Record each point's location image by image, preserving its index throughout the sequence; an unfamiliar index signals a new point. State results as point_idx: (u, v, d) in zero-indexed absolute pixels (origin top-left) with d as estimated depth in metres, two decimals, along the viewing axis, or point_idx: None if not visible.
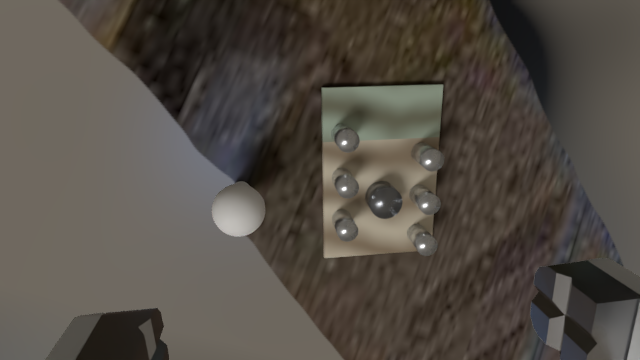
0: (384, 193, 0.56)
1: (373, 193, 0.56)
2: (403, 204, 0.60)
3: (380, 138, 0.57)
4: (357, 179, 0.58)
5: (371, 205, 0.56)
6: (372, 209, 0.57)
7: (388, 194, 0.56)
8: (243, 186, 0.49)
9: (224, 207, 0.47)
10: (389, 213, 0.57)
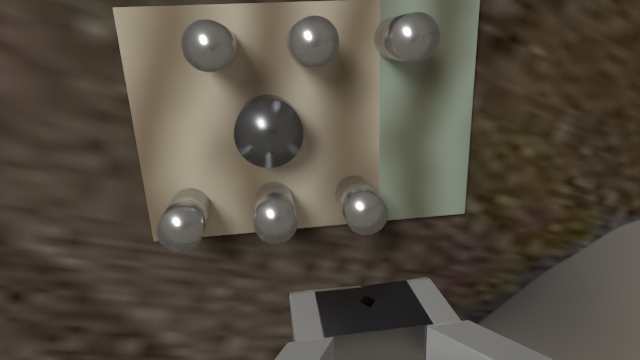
0: (291, 128, 0.27)
1: (289, 106, 0.27)
2: (250, 173, 0.31)
3: (381, 115, 0.31)
4: (302, 76, 0.29)
5: (264, 102, 0.26)
6: (254, 105, 0.26)
7: (289, 136, 0.27)
8: None
9: None
10: (246, 143, 0.27)
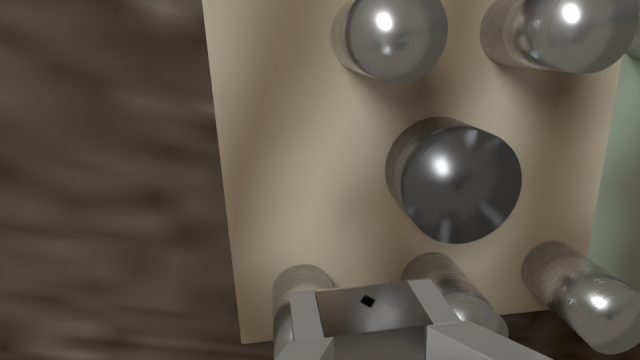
0: (503, 178, 0.16)
1: (502, 140, 0.15)
2: (399, 241, 0.19)
3: (609, 149, 0.19)
4: (498, 86, 0.18)
5: (465, 135, 0.15)
6: (448, 140, 0.15)
7: (497, 192, 0.16)
8: None
9: None
10: (425, 204, 0.16)
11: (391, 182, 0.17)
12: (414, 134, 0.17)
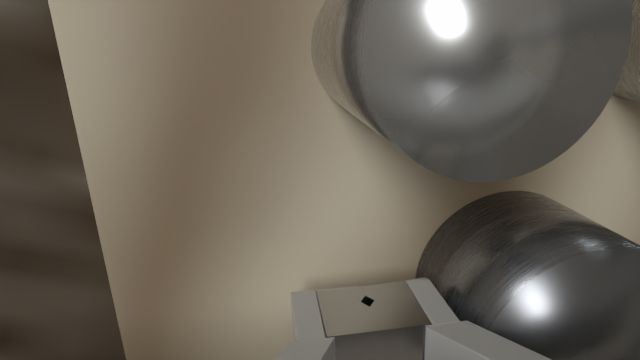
0: None
1: None
2: None
3: None
4: (616, 136, 0.10)
5: (601, 259, 0.07)
6: (567, 270, 0.07)
7: None
8: None
9: None
10: None
11: None
12: (477, 233, 0.09)
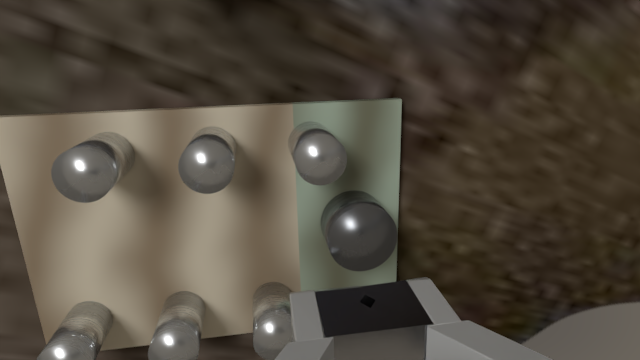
0: (385, 232, 0.26)
1: (384, 210, 0.26)
2: (157, 284, 0.28)
3: (300, 220, 0.28)
4: None
5: (361, 208, 0.26)
6: (351, 211, 0.26)
7: (383, 240, 0.27)
8: None
9: None
10: (340, 248, 0.26)
11: (323, 232, 0.28)
12: (335, 204, 0.27)
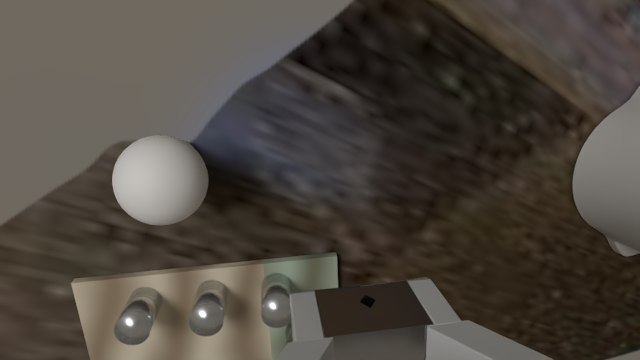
0: None
1: None
2: None
3: (271, 333, 0.42)
4: None
5: None
6: None
7: None
8: (206, 188, 0.29)
9: (173, 169, 0.27)
10: None
11: None
12: None
